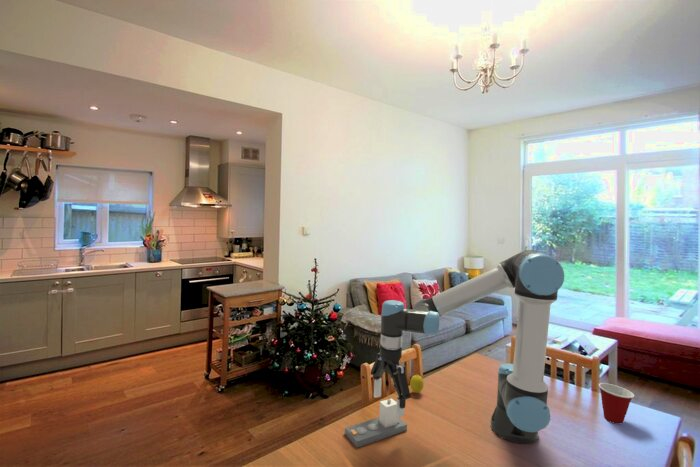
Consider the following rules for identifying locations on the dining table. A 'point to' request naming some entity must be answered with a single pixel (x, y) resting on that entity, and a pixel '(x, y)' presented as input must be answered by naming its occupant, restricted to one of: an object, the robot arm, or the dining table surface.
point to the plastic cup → (615, 402)
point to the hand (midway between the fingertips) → (388, 406)
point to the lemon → (416, 383)
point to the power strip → (372, 431)
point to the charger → (388, 413)
